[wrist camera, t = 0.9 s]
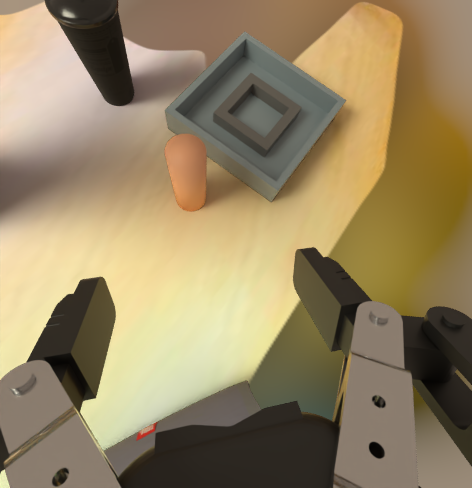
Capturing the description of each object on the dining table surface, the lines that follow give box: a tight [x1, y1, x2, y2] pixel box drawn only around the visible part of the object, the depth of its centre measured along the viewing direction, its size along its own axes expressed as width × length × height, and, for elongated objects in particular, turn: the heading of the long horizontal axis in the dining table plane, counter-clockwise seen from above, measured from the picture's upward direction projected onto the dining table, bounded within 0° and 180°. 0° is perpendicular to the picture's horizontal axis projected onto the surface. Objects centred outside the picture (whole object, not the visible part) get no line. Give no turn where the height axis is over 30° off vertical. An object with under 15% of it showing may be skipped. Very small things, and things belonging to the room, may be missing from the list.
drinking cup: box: [45, 0, 134, 106], centre depth 34 cm, size 8×8×20 cm
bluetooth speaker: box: [103, 381, 261, 476], centre depth 28 cm, size 23×9×10 cm, turn 114°
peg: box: [165, 134, 207, 211], centre depth 35 cm, size 4×4×12 cm
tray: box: [165, 32, 346, 202], centre depth 43 cm, size 20×20×4 cm
